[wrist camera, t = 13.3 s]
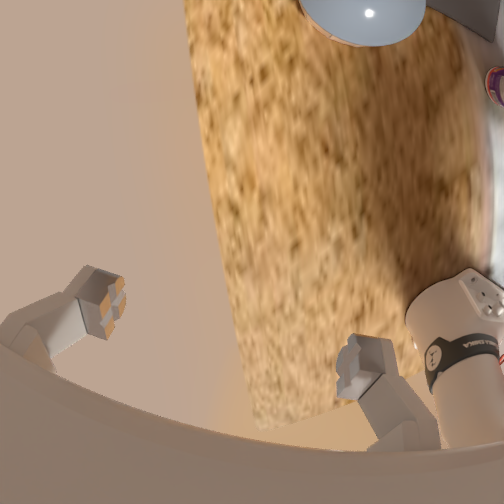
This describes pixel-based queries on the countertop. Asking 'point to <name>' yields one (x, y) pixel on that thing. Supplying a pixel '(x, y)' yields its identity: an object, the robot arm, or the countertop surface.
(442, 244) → the countertop surface
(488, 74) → the pill bottle
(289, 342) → the countertop surface
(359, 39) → the lid
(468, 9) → the mat
